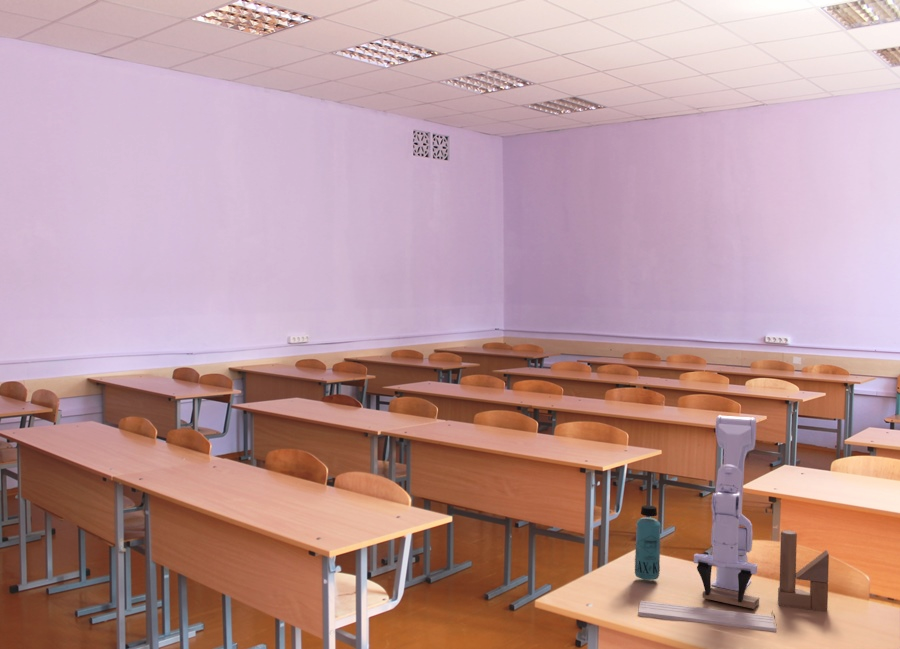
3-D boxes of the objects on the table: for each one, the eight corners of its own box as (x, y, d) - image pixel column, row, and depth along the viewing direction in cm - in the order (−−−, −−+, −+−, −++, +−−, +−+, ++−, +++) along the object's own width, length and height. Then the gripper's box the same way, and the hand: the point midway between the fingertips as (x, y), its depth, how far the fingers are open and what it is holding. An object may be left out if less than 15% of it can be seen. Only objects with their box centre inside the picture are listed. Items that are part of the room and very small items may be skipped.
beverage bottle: (629, 578, 208) (631, 504, 207) (651, 576, 210) (652, 502, 209) (642, 587, 202) (644, 510, 201) (665, 584, 203) (666, 508, 203)
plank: (708, 593, 197) (709, 587, 197) (758, 604, 190) (759, 597, 190) (702, 597, 192) (702, 591, 192) (753, 608, 185) (754, 602, 185)
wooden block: (827, 612, 186) (829, 538, 186) (778, 606, 190) (780, 533, 189) (825, 607, 190) (827, 533, 189) (777, 601, 193) (779, 529, 193)
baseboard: (640, 602, 193) (638, 618, 183) (640, 591, 193) (638, 606, 183) (771, 617, 184) (776, 635, 174) (772, 606, 184) (776, 622, 174)
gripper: (690, 540, 190) (689, 595, 190) (753, 550, 182) (751, 608, 182) (698, 533, 196) (697, 587, 196) (759, 544, 188) (758, 600, 188)
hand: (724, 597), depth 189 cm, fingers open, 7 cm apart
